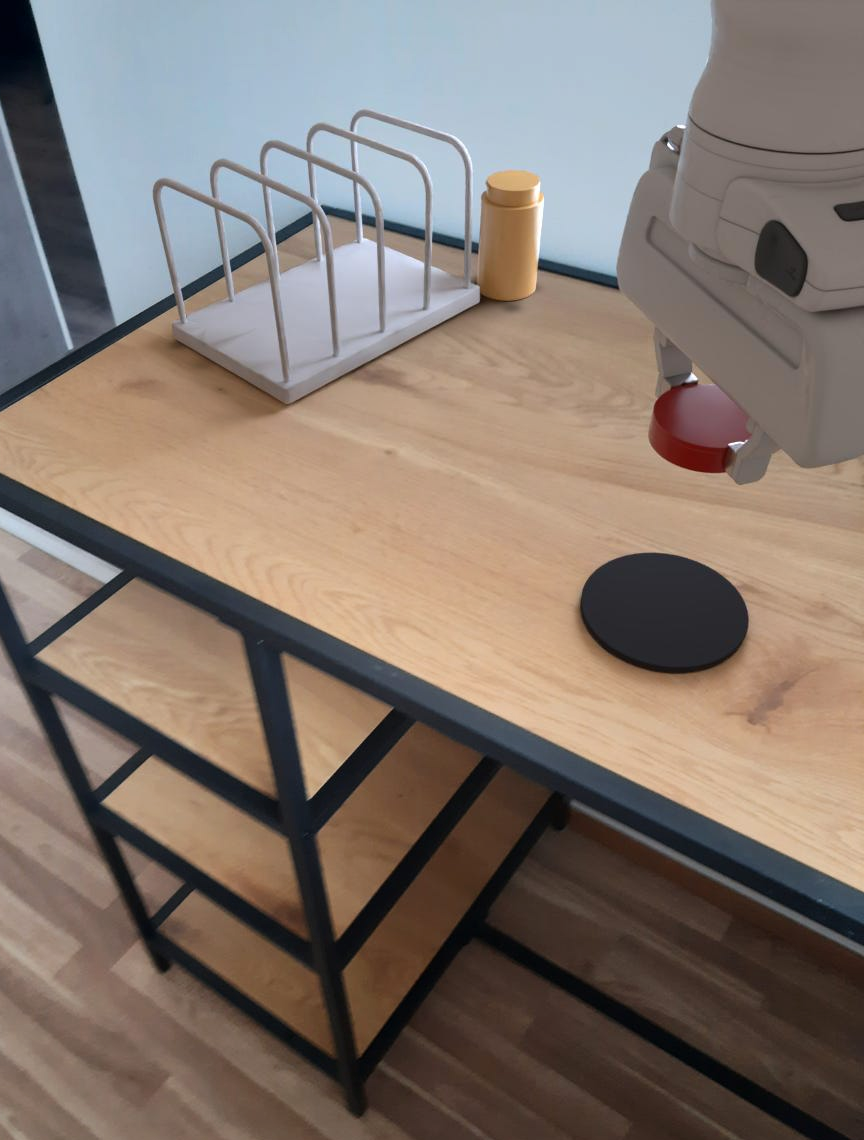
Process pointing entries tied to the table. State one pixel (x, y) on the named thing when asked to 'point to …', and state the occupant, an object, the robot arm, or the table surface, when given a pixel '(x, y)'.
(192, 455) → the table surface
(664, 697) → the table surface
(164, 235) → the file sorter
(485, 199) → the jar
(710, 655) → the black coaster
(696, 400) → the lid
